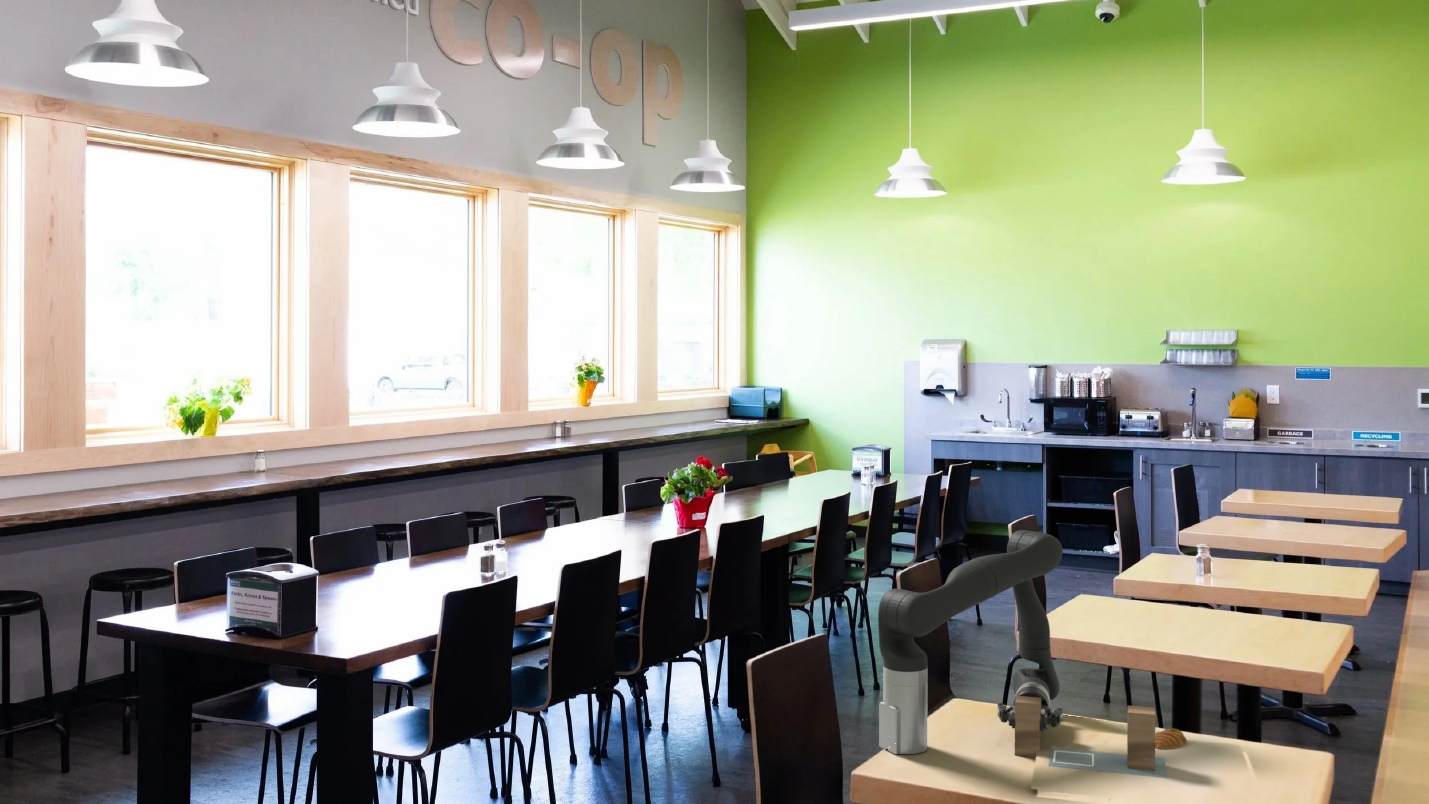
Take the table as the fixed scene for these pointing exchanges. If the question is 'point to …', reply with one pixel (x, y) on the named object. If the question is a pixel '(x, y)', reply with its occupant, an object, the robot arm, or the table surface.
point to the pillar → (1027, 726)
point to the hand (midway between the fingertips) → (1027, 724)
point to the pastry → (1169, 739)
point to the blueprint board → (1101, 762)
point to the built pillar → (1141, 738)
